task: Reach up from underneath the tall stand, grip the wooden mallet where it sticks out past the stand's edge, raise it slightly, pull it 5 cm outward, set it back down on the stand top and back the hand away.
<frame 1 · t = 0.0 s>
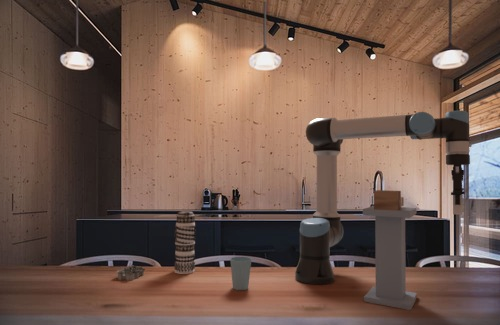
hand: (458, 213, 128), 28 cm above the table, tool pointing down, fingers open, 13 cm apart
brown lumpy stone: (130, 277, 141), on the table
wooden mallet: (393, 207, 124), point 30 cm above the table, touching stand
decorative candle: (184, 271, 150), on the table
cup: (240, 288, 128), on the table
stand: (390, 299, 118), on the table
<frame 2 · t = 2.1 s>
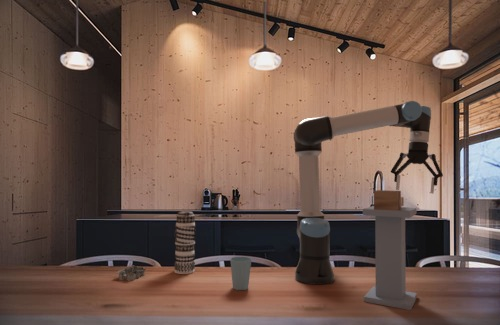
hand: (414, 191, 152), 35 cm above the table, tool pointing down, fingers open, 13 cm apart
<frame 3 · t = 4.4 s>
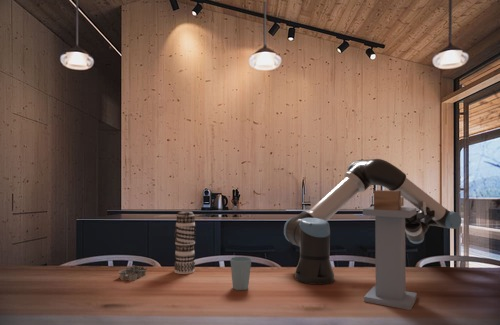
hand: (406, 203, 150), 30 cm above the table, tool pointing upward, fingers open, 13 cm apart
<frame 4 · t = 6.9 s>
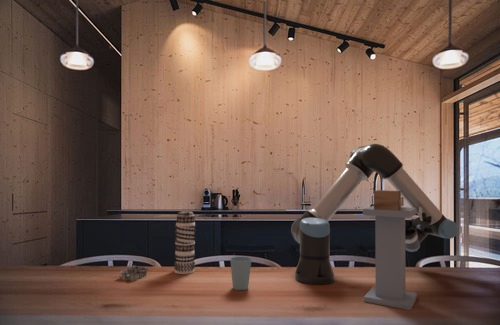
hand: (400, 208, 137), 29 cm above the table, tool pointing upward, fingers open, 13 cm apart
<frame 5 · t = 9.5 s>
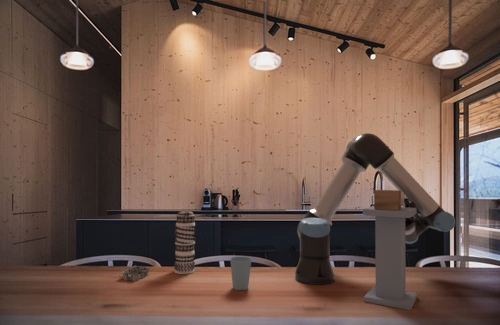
hand: (395, 195, 128), 34 cm above the table, tool pointing upward, fingers closed on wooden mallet, 3 cm apart
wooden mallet: (393, 207, 124), point 30 cm above the table, touching gripper
when the fingers open (35 cm above the table, at t = 12.3 s): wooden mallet stays where it is, resting on stand.
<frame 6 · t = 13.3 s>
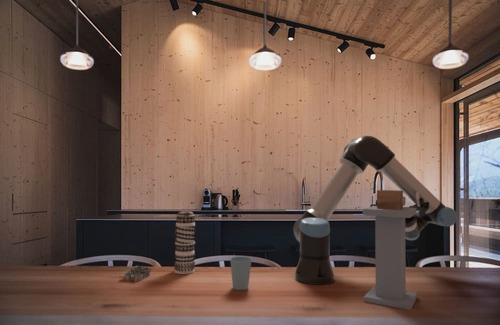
hand: (398, 194, 134), 34 cm above the table, tool pointing upward, fingers open, 12 cm apart
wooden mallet: (395, 206, 128), point 30 cm above the table, touching stand
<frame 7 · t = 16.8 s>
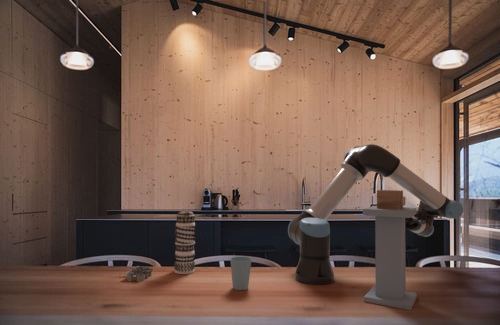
hand: (392, 211, 145), 27 cm above the table, tool pointing upward, fingers open, 13 cm apart
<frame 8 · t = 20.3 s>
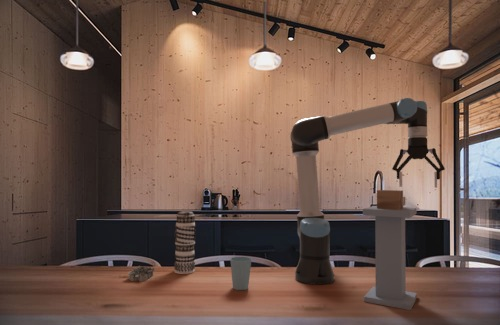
hand: (417, 187, 152), 37 cm above the table, tool pointing down, fingers open, 13 cm apart
at the end: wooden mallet moved 4.6 cm from its start; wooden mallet 0.6 cm from the target spot, point 30.0 cm above the table; the gripper is holding nothing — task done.
